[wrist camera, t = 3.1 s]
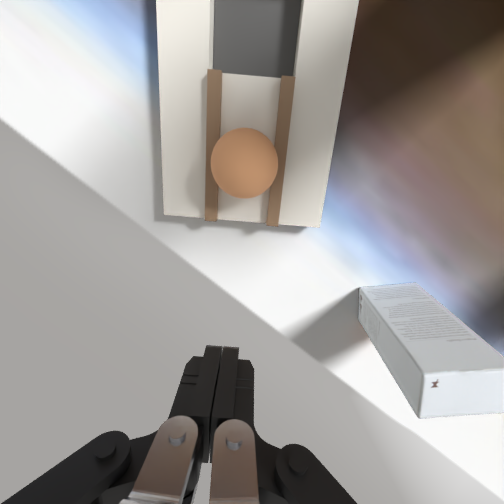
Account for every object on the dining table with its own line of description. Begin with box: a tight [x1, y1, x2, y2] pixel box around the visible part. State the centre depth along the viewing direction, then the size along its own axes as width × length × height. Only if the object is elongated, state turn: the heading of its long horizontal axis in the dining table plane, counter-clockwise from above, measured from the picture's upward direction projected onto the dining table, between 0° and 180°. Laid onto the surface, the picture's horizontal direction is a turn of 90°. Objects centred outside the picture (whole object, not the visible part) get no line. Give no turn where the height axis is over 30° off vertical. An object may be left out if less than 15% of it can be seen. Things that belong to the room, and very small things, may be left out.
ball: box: [211, 128, 278, 199], centre depth 20 cm, size 5×5×5 cm
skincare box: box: [358, 282, 504, 419], centre depth 24 cm, size 6×4×12 cm
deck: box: [156, 0, 359, 228], centre depth 21 cm, size 20×14×3 cm
